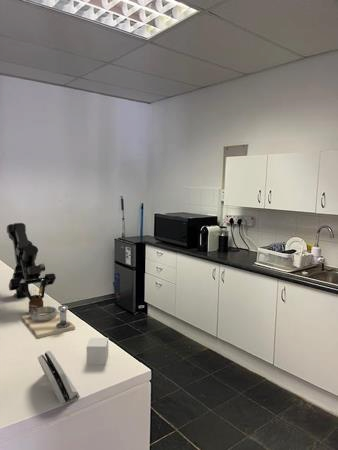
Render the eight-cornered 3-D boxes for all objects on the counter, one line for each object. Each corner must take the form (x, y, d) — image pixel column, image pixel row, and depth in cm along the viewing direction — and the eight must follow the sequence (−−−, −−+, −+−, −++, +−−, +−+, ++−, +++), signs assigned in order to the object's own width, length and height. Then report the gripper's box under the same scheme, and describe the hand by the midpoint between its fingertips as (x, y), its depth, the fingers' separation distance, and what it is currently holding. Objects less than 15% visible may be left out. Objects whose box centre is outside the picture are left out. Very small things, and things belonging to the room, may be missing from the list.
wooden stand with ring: (21, 318, 138) (21, 298, 137) (55, 311, 147) (55, 292, 146) (37, 338, 121) (37, 315, 120) (74, 329, 130) (74, 307, 129)
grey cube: (90, 355, 110) (90, 337, 110) (108, 355, 111) (108, 337, 110) (86, 364, 105) (86, 346, 104) (105, 364, 105) (106, 346, 104)
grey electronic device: (80, 398, 88) (67, 367, 85) (63, 409, 86) (49, 379, 83) (61, 368, 102) (49, 341, 99) (46, 378, 99) (33, 350, 96)
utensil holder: (36, 308, 150) (36, 282, 148) (47, 311, 147) (46, 284, 146) (25, 313, 144) (25, 286, 143) (36, 316, 142) (35, 288, 140)
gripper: (9, 260, 140) (16, 292, 133) (54, 255, 152) (63, 285, 144) (5, 274, 147) (12, 306, 140) (48, 269, 159) (57, 298, 151)
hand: (37, 298), depth 144 cm, fingers closed on utensil holder, 5 cm apart
